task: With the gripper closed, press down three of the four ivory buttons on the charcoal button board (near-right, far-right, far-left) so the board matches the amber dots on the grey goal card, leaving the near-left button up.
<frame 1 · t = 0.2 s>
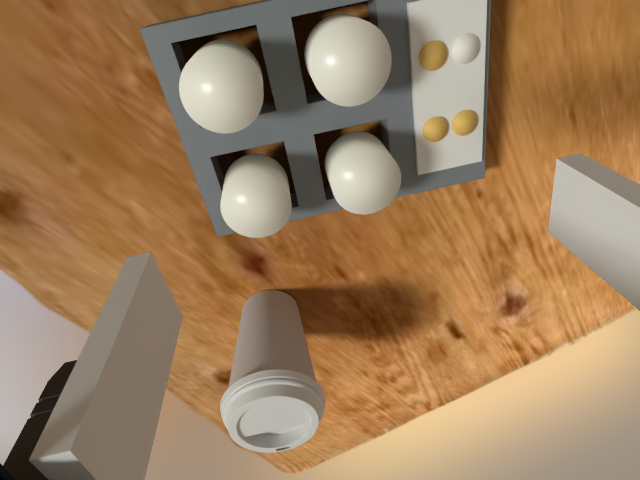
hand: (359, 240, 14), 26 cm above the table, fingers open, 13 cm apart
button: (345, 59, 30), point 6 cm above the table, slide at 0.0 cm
board: (331, 104, 38), on the table
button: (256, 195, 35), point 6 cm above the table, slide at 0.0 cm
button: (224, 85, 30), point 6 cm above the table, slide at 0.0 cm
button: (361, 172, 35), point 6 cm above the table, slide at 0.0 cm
coffee cup: (270, 310, 50), on the table
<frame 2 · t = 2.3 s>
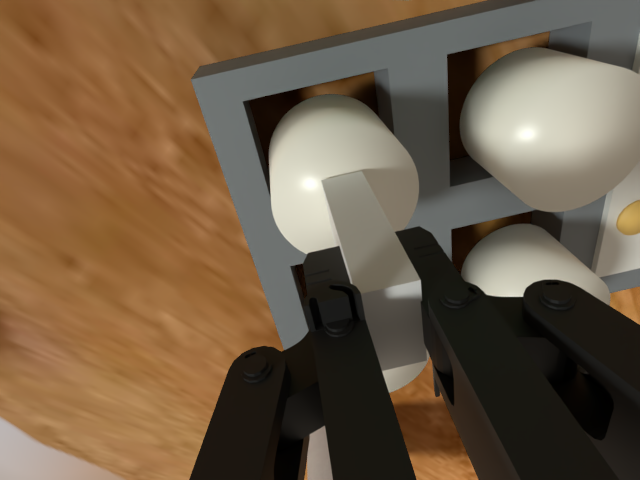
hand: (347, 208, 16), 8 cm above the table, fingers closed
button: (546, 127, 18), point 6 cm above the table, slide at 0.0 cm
board: (467, 176, 25), on the table
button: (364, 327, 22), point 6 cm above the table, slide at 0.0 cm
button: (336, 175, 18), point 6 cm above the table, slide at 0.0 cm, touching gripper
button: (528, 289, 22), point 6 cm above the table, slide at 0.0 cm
coffee cup: (343, 430, 37), on the table
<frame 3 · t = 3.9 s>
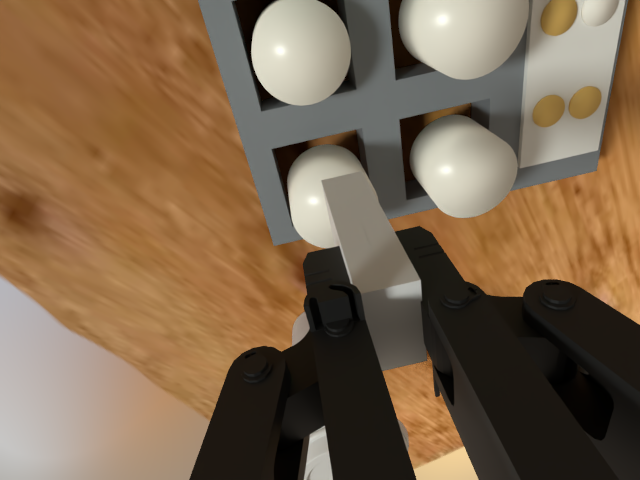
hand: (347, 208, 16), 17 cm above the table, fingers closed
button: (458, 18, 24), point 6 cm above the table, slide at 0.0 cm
board: (415, 83, 31), on the table
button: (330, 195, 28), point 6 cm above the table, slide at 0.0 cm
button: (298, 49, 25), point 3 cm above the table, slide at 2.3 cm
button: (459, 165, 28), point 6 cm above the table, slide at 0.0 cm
coffee cup: (324, 327, 43), on the table
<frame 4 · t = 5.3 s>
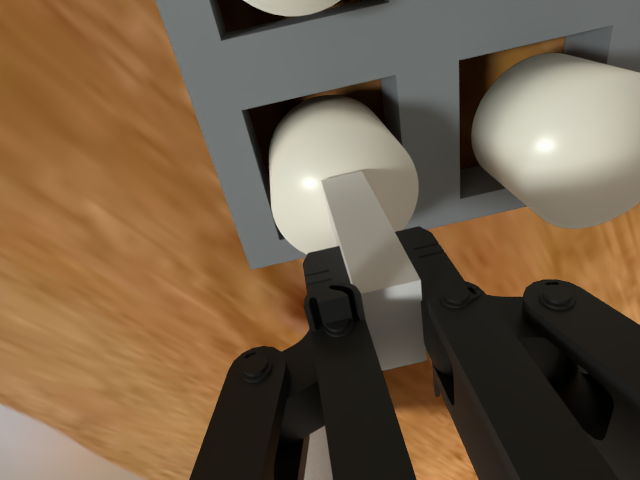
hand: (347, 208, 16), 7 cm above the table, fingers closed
board: (479, 7, 19), on the table
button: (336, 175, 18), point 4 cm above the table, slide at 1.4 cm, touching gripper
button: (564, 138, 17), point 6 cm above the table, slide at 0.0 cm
coffee cup: (327, 376, 31), on the table
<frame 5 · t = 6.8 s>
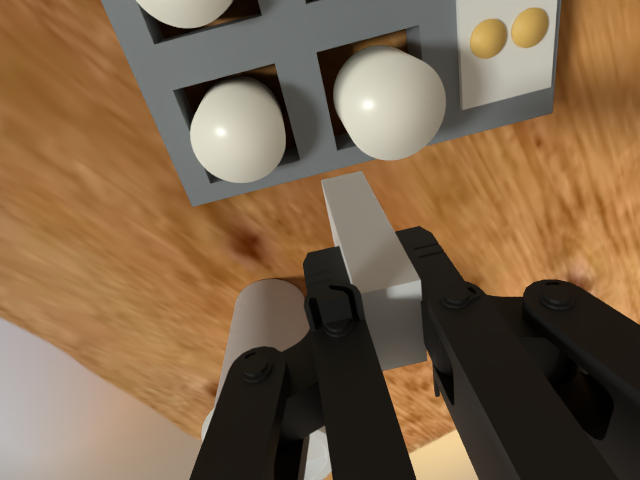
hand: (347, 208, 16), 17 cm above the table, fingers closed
board: (339, 15, 27), on the table
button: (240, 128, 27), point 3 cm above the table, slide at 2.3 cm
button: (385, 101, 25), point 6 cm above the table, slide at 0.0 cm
coffee cup: (270, 305, 39), on the table
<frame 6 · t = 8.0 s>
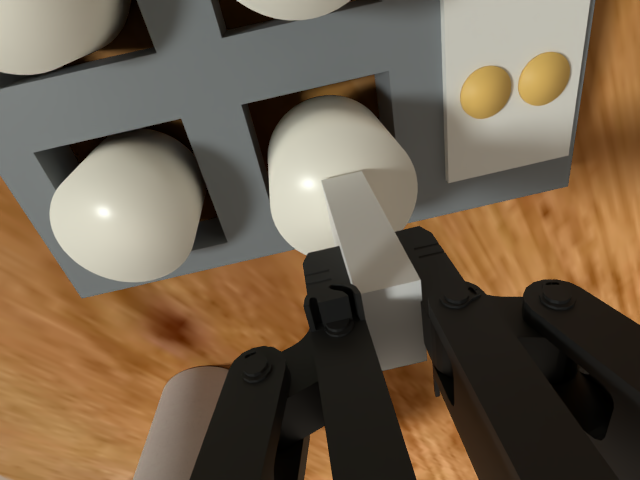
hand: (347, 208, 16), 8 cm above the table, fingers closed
board: (281, 50, 20), on the table
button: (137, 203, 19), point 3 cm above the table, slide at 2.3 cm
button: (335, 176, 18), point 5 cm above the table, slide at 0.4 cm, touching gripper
coffee cup: (208, 393, 32), on the table
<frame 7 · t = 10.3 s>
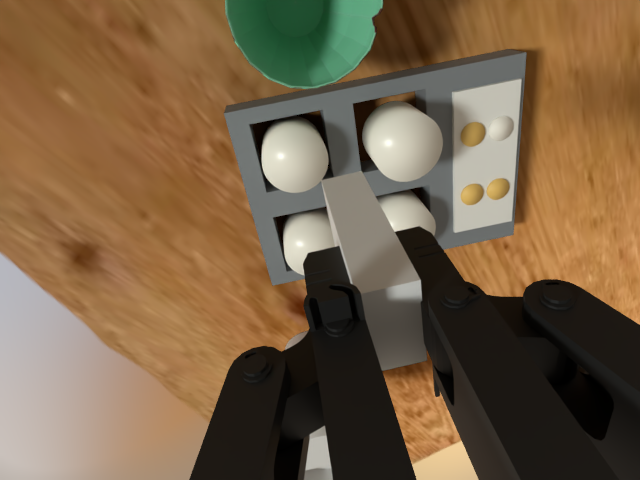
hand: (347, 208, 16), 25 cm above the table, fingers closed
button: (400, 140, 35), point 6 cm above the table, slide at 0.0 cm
board: (378, 170, 42), on the table
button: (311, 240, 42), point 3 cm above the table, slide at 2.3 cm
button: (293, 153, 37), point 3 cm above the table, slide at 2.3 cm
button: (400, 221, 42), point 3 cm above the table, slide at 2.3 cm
coffee cup: (310, 349, 53), on the table
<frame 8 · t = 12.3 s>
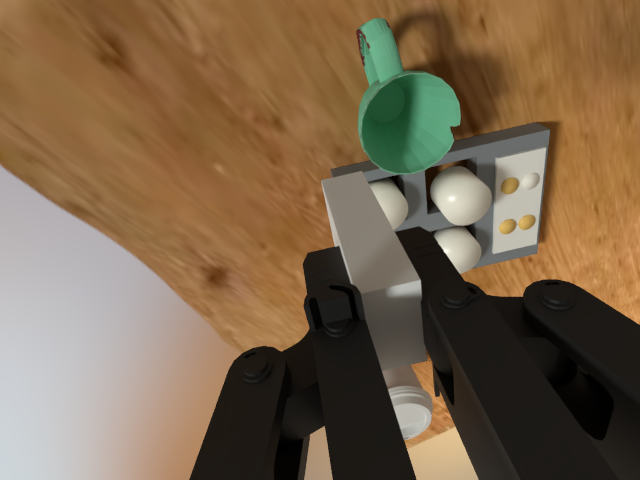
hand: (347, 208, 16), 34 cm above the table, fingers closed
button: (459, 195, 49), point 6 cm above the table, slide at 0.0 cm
board: (436, 209, 57), on the table
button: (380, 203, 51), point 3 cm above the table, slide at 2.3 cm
mug: (376, 81, 47), on the table
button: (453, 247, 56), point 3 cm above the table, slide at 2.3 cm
coffee cup: (375, 340, 68), on the table
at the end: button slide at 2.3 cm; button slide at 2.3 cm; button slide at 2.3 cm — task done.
